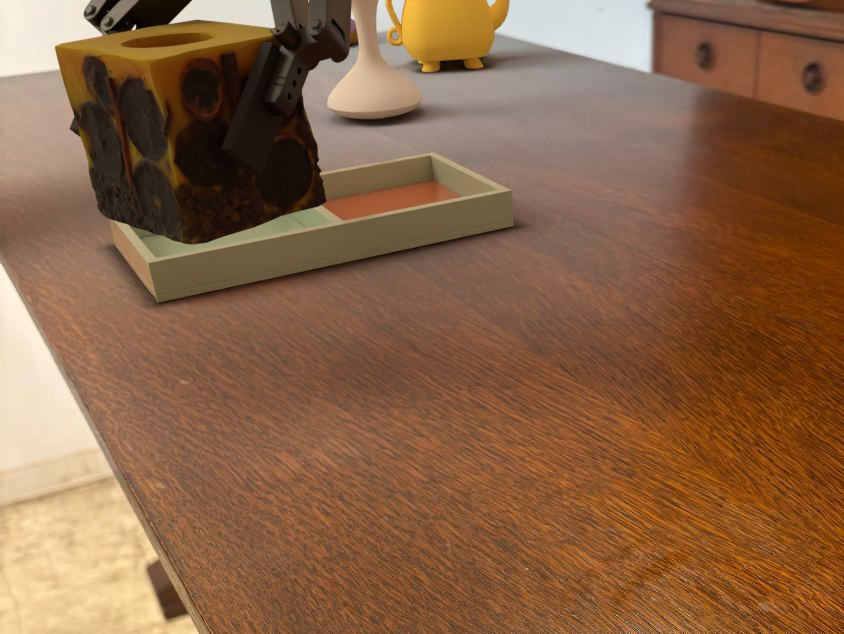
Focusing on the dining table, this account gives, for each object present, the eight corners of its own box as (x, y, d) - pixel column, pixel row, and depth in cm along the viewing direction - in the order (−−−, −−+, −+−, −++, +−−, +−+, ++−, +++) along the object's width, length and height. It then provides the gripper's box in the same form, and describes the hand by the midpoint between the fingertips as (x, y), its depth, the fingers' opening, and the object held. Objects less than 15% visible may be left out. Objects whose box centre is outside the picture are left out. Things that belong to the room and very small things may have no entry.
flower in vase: (385, 100, 137) (358, -132, 123) (443, 112, 130) (422, -132, 116) (298, 121, 130) (260, -124, 116) (356, 135, 123) (322, -124, 109)
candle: (330, 206, 67) (305, 29, 61) (191, 251, 61) (149, 60, 55) (232, 179, 73) (201, 16, 67) (96, 218, 67) (49, 42, 61)
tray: (115, 246, 93) (106, 210, 91) (437, 184, 105) (434, 151, 103) (157, 302, 81) (147, 262, 80) (513, 226, 93) (511, 190, 92)
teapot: (387, 60, 160) (377, -38, 153) (521, 50, 163) (516, -46, 155) (393, 78, 149) (382, -26, 142) (536, 67, 151) (532, -36, 144)
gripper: (486, -131, 63) (361, 209, 61) (188, -127, 73) (69, 166, 71) (428, -244, 57) (284, 133, 54) (107, -223, 66) (-27, 97, 64)
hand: (163, 152), depth 62 cm, fingers closed on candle, 11 cm apart
